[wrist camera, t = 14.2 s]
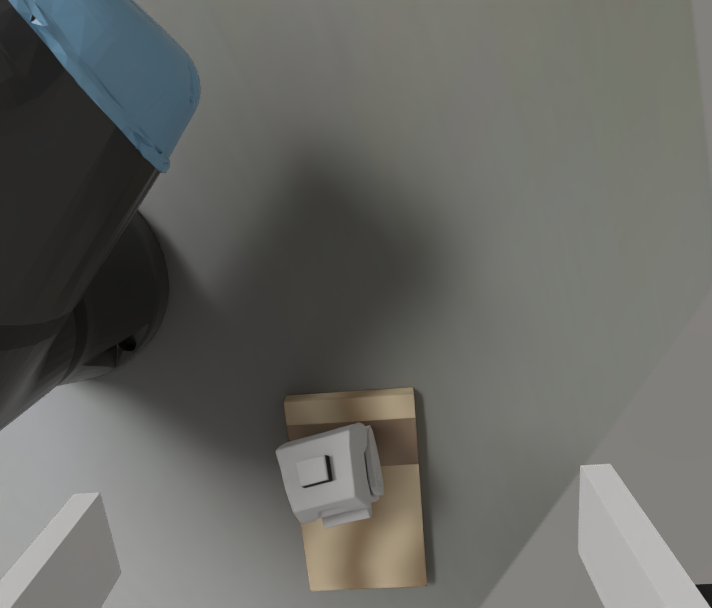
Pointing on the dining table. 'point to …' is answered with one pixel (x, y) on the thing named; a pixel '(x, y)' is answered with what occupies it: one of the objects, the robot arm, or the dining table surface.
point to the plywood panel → (389, 514)
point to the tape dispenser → (332, 475)
